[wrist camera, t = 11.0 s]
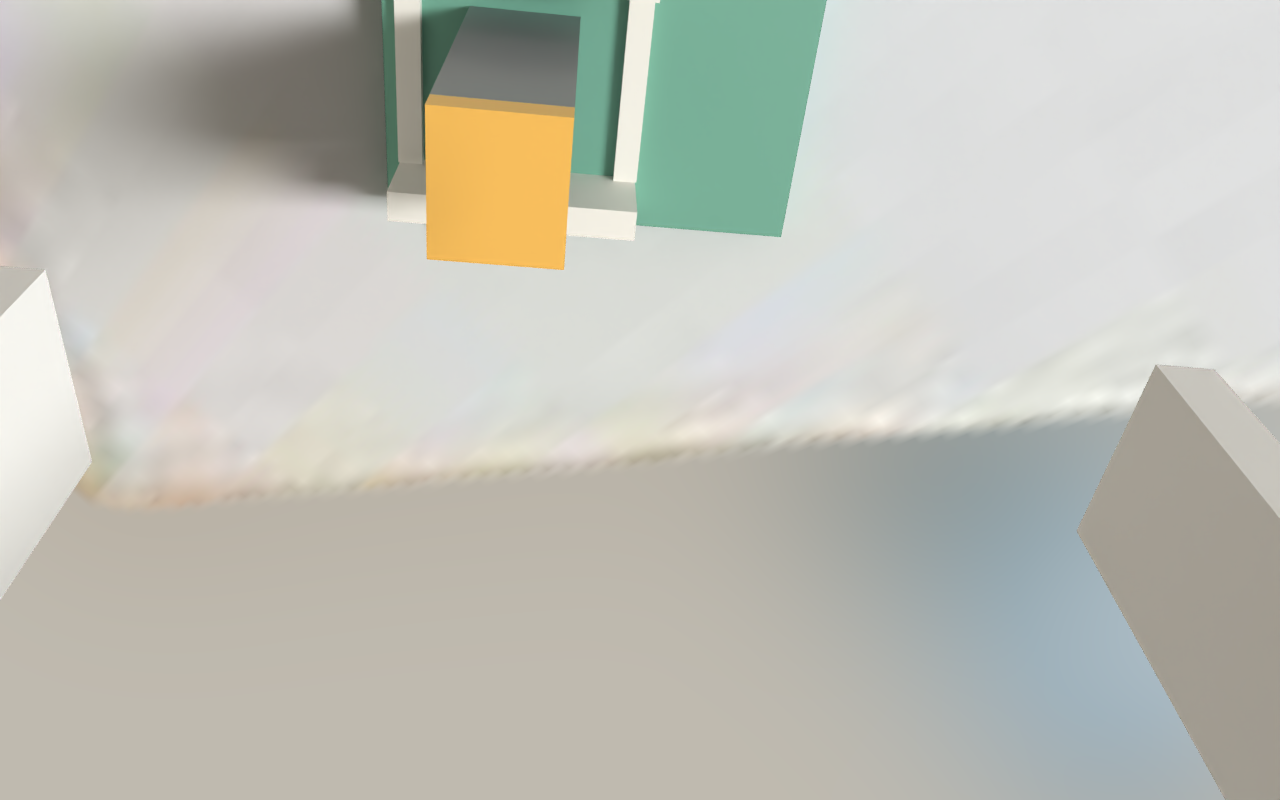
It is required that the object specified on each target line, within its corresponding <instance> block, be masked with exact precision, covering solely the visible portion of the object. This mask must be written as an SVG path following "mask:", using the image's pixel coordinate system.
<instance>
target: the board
mask: <svg viewBox="0 0 1280 800" xmlns="http://www.w3.org/2000/svg"><path fill="white" fill-rule="evenodd" d="M826 1H827V0H382V29H383V59H384V88H385V118H386V147H387V177H388V190H387V221H394V222H407V223H419V224H426V151H425V103H426V101H427V99H428V97H429V94H430V92H431V90H432V88H433V86H434V83H435V81H436V79H437V77H438V75H439V72H440V70H441V68H442V66H443V64H444V62H445V59H446V57H447V55H448V53H449V51H450V48H451V46H452V44H453V42H454V40H455V37H456V35H457V33H458V31H459V29H460V26H461V24H462V22H463V20H464V18H465V15H466V13H467V11H468V9H469V7H470V6H476V7H486V8H497V9H507V10H517V11H527V12H537V13H547V14H557V15H568V16H578V17H581V20H580V35H579V51H578V67H577V83H576V99H575V114H574V129H573V144H572V158H571V173H570V188H569V202H568V217H567V231H566V235H568V236H580V237H593V238H605V239H617V240H630V241H634V238H635V229H636V225H640V226H652V227H664V228H677V229H689V230H701V231H713V232H725V233H738V234H750V235H762V236H774V237H781V234H782V229H783V224H784V218H785V213H786V208H787V203H788V198H789V192H790V187H791V182H792V177H793V172H794V167H795V161H796V156H797V151H798V146H799V141H800V135H801V130H802V125H803V120H804V115H805V110H806V104H807V99H808V94H809V89H810V84H811V79H812V73H813V68H814V63H815V58H816V53H817V47H818V42H819V37H820V32H821V27H822V22H823V16H824V11H825V6H826Z"/></svg>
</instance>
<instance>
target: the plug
mask: <svg viewBox="0 0 1280 800" xmlns="http://www.w3.org/2000/svg"><path fill="white" fill-rule="evenodd" d="M580 20H581V17H578V16H568V15H557V14H547V13H537V12H527V11H517V10H507V9H497V8H486V7H476V6H470V7H469V9H468V11H467V13H466V15H465V18H464V20H463V22H462V24H461V26H460V29H459V31H458V33H457V35H456V37H455V40H454V42H453V44H452V46H451V48H450V51H449V53H448V55H447V57H446V59H445V62H444V64H443V66H442V68H441V70H440V72H439V75H438V77H437V79H436V81H435V83H434V86H433V88H432V90H431V92H430V94H429V97H428V99H427V101H426V103H425V151H426V231H427V259H430V260H443V261H456V262H469V263H482V264H494V265H507V266H520V267H533V268H546V269H559V270H564V261H565V246H566V231H567V217H568V202H569V188H570V173H571V158H572V144H573V129H574V114H575V99H576V83H577V67H578V51H579V35H580Z"/></svg>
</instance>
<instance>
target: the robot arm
mask: <svg viewBox="0 0 1280 800" xmlns="http://www.w3.org/2000/svg"><path fill="white" fill-rule="evenodd" d="M91 463H92V459H91V455H90V451H89V447H88V443H87V439H86V435H85V431H84V427H83V422H82V418H81V414H80V410H79V406H78V402H77V398H76V394H75V390H74V385H73V381H72V377H71V373H70V369H69V365H68V361H67V357H66V352H65V348H64V344H63V340H62V336H61V332H60V328H59V324H58V320H57V315H56V311H55V307H54V303H53V299H52V295H51V291H50V287H49V283H48V278H47V274H46V270H42V269H30V268H18V267H7V266H0V600H1V598H2V597H3V595H4V594H5V592H6V591H7V589H8V588H9V586H10V584H11V583H12V582H13V580H14V579H15V577H16V575H17V574H18V573H19V571H20V570H21V568H22V567H23V565H24V564H25V562H26V561H27V559H28V558H29V556H30V555H31V553H32V552H33V550H34V549H35V547H36V545H37V544H38V542H39V541H40V539H41V538H42V536H43V535H44V533H45V532H46V530H47V529H48V527H49V526H50V524H51V523H52V521H53V520H54V518H55V517H56V515H57V514H58V512H59V511H60V509H61V508H62V506H63V505H64V503H65V502H66V500H67V499H68V497H69V496H70V494H71V493H72V491H73V490H74V488H75V487H76V485H77V484H78V482H79V481H80V479H81V478H82V476H83V475H84V473H85V472H86V470H87V469H88V467H89V466H90V464H91ZM1077 532H1078V534H1079V536H1080V538H1081V539H1082V541H1083V543H1084V545H1085V547H1086V549H1087V550H1088V552H1089V554H1090V556H1091V558H1092V559H1093V561H1094V563H1095V565H1096V566H1097V568H1098V570H1099V572H1100V574H1101V576H1102V578H1103V579H1104V581H1105V583H1106V585H1107V586H1108V588H1109V590H1110V592H1111V594H1112V595H1113V597H1114V599H1115V601H1116V603H1117V605H1118V607H1119V608H1120V610H1121V612H1122V614H1123V616H1124V617H1125V619H1126V621H1127V623H1128V625H1129V626H1130V628H1131V630H1132V632H1133V634H1134V635H1135V637H1136V639H1137V641H1138V643H1139V644H1140V646H1141V648H1142V650H1143V652H1144V654H1145V655H1146V657H1147V659H1148V661H1149V663H1150V664H1151V666H1152V668H1153V670H1154V671H1155V673H1156V675H1157V677H1158V679H1159V681H1160V682H1161V684H1162V686H1163V688H1164V690H1165V691H1166V693H1167V695H1168V697H1169V699H1170V700H1171V702H1172V704H1173V706H1174V708H1175V710H1176V711H1177V713H1178V715H1179V717H1180V719H1181V720H1182V722H1183V724H1184V726H1185V728H1186V729H1187V731H1188V733H1189V735H1190V737H1191V739H1192V740H1193V742H1194V744H1195V746H1196V748H1197V749H1198V751H1199V753H1200V755H1201V757H1202V758H1203V760H1204V762H1205V764H1206V766H1207V767H1208V769H1209V771H1210V773H1211V775H1212V777H1213V778H1214V780H1215V782H1216V784H1217V786H1218V787H1219V789H1220V791H1221V793H1222V794H1223V796H1224V798H1225V800H1280V443H1279V442H1278V441H1277V439H1276V438H1275V437H1274V436H1273V435H1272V434H1271V433H1270V432H1269V431H1268V429H1267V428H1266V427H1265V426H1264V425H1263V424H1262V422H1261V421H1260V420H1259V419H1258V418H1257V417H1256V416H1255V415H1254V413H1253V412H1252V411H1251V410H1250V409H1249V408H1248V407H1247V405H1246V404H1245V403H1244V402H1243V401H1242V400H1241V399H1240V398H1239V396H1238V395H1237V394H1236V393H1235V392H1234V391H1233V390H1232V389H1231V387H1230V386H1229V385H1228V384H1227V383H1226V382H1225V381H1224V379H1223V378H1222V377H1221V376H1220V375H1219V374H1218V373H1217V372H1216V370H1215V369H1203V368H1191V367H1179V366H1168V365H1155V367H1154V370H1153V372H1152V374H1151V376H1150V378H1149V380H1148V382H1147V384H1146V386H1145V388H1144V391H1143V393H1142V395H1141V397H1140V399H1139V401H1138V403H1137V405H1136V407H1135V409H1134V412H1133V414H1132V416H1131V418H1130V420H1129V422H1128V424H1127V426H1126V428H1125V431H1124V433H1123V435H1122V437H1121V439H1120V441H1119V444H1118V445H1117V447H1116V450H1115V451H1114V454H1113V456H1112V458H1111V460H1110V462H1109V464H1108V466H1107V468H1106V470H1105V473H1104V475H1103V477H1102V479H1101V481H1100V483H1099V485H1098V487H1097V489H1096V491H1095V493H1094V496H1093V498H1092V500H1091V502H1090V505H1089V507H1088V508H1087V510H1086V512H1085V515H1084V517H1083V519H1082V521H1081V523H1080V525H1079V527H1078V529H1077Z"/></svg>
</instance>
